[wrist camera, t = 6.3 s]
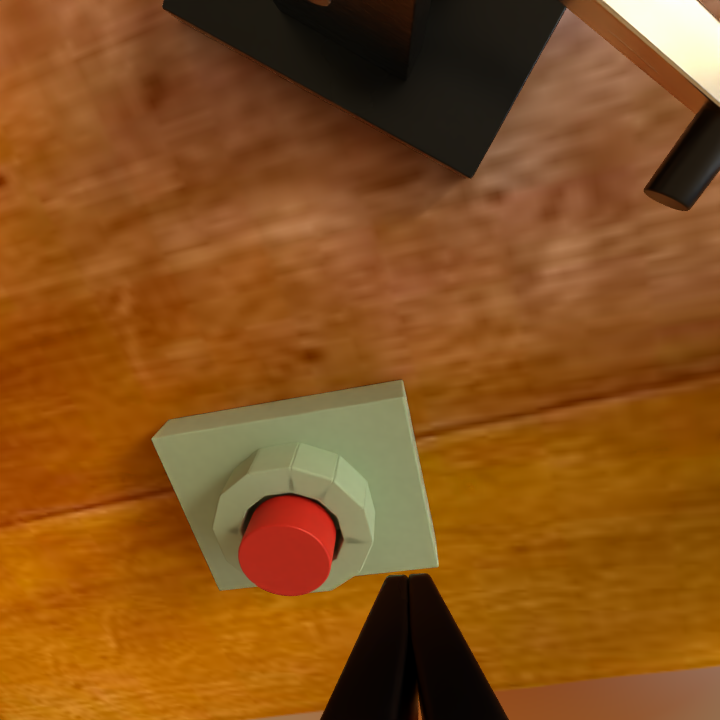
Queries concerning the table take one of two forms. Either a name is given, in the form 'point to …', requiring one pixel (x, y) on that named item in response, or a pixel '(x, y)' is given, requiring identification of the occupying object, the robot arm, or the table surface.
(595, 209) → the table surface
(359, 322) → the table surface
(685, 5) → the lever
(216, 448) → the button box
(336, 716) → the robot arm
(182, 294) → the table surface
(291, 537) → the button
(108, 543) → the table surface
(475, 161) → the bracket
